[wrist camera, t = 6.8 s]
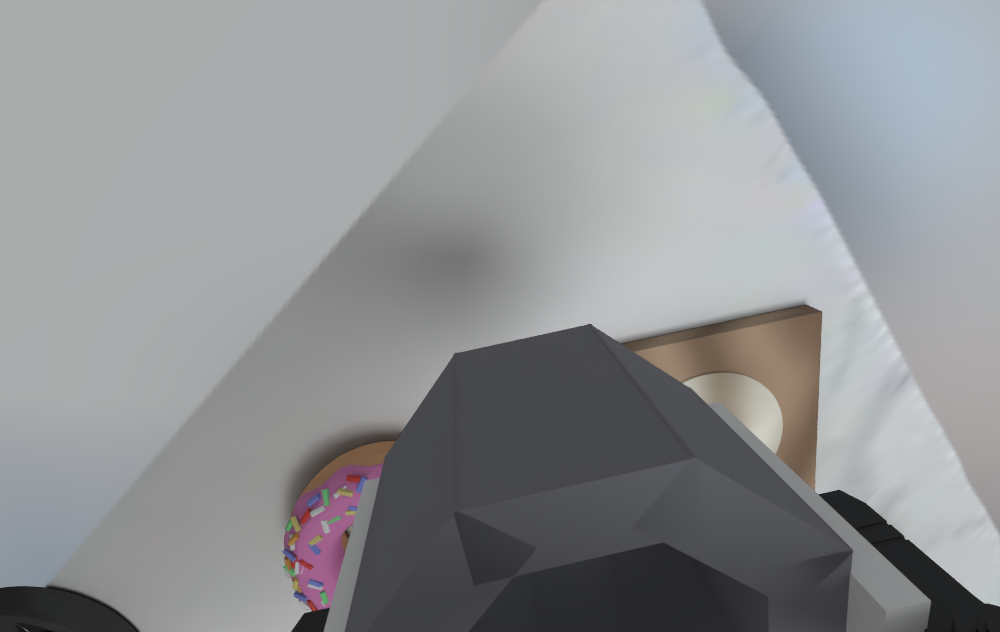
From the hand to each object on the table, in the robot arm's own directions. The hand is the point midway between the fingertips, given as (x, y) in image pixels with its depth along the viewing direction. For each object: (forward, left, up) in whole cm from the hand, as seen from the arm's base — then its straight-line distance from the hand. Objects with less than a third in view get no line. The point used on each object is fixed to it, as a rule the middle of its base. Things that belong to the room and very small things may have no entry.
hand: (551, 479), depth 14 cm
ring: (0, 0, 0) cm, 0 cm away
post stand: (+13, -13, -17) cm, 25 cm away
